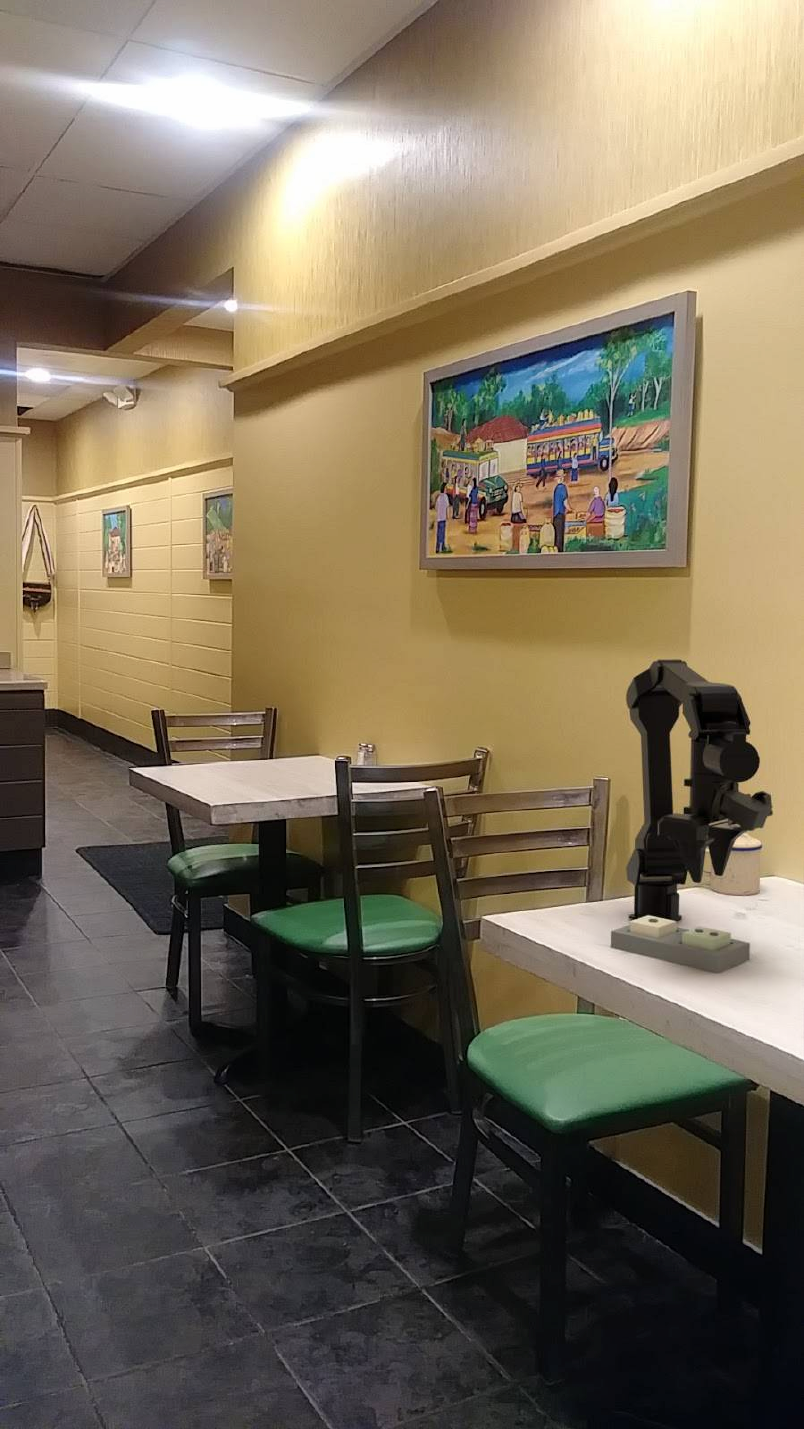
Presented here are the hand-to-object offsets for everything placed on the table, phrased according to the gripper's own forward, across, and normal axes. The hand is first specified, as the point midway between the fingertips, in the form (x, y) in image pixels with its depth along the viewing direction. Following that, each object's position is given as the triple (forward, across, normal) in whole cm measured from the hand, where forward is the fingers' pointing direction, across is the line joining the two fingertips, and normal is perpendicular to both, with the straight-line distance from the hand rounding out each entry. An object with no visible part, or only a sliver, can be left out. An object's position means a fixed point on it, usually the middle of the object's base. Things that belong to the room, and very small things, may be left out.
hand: (708, 879), depth 168 cm
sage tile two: (+10, 0, 0) cm, 10 cm away
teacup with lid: (+12, +41, +20) cm, 47 cm away
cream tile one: (+10, 0, +9) cm, 14 cm away
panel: (+12, 0, +5) cm, 13 cm away
